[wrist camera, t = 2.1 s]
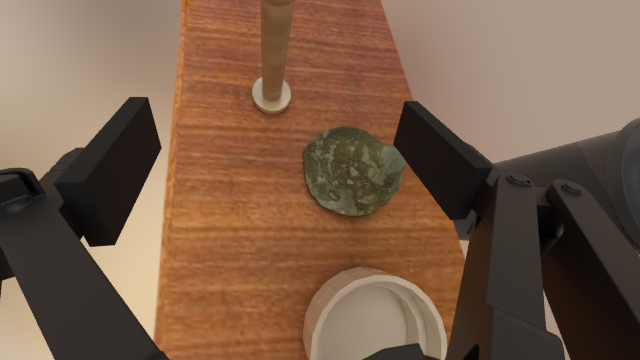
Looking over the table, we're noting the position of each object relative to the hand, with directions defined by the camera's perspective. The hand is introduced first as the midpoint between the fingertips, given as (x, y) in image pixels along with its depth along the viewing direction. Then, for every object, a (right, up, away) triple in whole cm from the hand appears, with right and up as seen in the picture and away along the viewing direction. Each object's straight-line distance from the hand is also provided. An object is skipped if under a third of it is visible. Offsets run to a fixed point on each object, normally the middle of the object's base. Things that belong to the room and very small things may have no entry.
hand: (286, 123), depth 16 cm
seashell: (+5, -2, +20) cm, 20 cm away
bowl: (+6, -19, +17) cm, 27 cm away
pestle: (-4, +7, +19) cm, 21 cm away
